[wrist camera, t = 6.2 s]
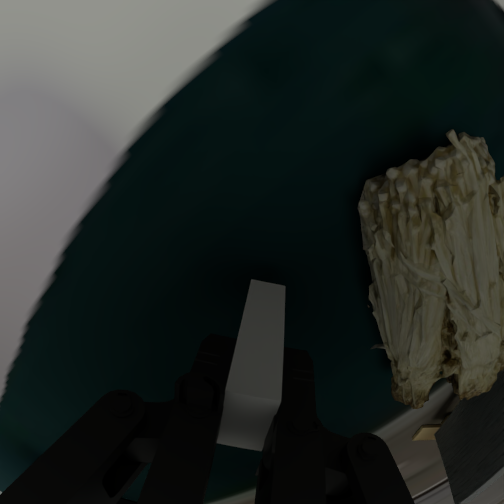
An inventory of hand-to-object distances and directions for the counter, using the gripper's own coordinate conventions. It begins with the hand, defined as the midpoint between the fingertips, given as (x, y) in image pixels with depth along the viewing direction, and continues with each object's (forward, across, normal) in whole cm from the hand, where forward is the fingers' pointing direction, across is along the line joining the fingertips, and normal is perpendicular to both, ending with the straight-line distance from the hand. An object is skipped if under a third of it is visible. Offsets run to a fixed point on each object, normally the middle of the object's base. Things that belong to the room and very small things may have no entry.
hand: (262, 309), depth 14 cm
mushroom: (+3, +9, +3) cm, 10 cm away
